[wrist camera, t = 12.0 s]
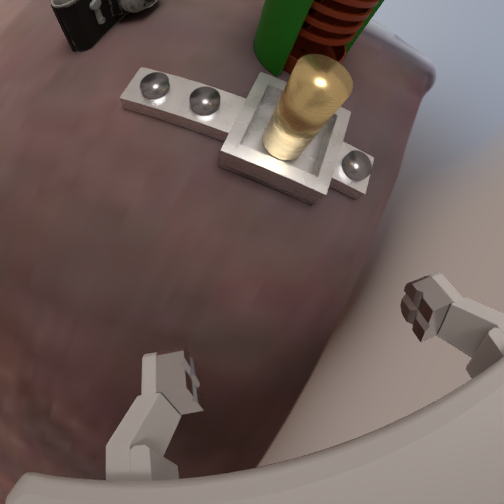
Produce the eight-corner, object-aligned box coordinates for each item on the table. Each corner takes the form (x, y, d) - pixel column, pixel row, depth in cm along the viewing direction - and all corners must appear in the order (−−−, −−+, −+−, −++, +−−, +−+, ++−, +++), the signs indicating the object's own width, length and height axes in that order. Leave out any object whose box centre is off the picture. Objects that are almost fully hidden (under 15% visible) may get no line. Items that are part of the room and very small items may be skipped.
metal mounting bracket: (111, 129, 22) (101, 110, 19) (155, 62, 23) (152, 40, 20) (348, 222, 24) (367, 215, 21) (369, 145, 26) (386, 131, 22)
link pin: (256, 149, 23) (287, 82, 14) (271, 116, 23) (304, 46, 15) (297, 167, 23) (347, 110, 14) (309, 133, 24) (357, 71, 15)
